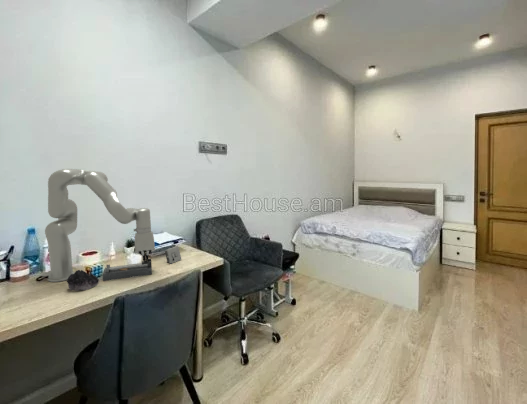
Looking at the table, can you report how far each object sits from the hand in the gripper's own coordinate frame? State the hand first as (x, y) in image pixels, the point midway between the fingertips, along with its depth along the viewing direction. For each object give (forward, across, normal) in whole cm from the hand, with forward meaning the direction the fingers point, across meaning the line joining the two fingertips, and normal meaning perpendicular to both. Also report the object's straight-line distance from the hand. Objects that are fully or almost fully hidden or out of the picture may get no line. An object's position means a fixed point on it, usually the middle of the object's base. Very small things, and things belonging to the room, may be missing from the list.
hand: (145, 261), depth 154 cm
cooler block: (+6, -9, 0) cm, 11 cm away
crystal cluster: (+7, -30, -8) cm, 31 cm away
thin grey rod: (+2, -9, 0) cm, 9 cm away
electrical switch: (+7, +16, +14) cm, 22 cm away
